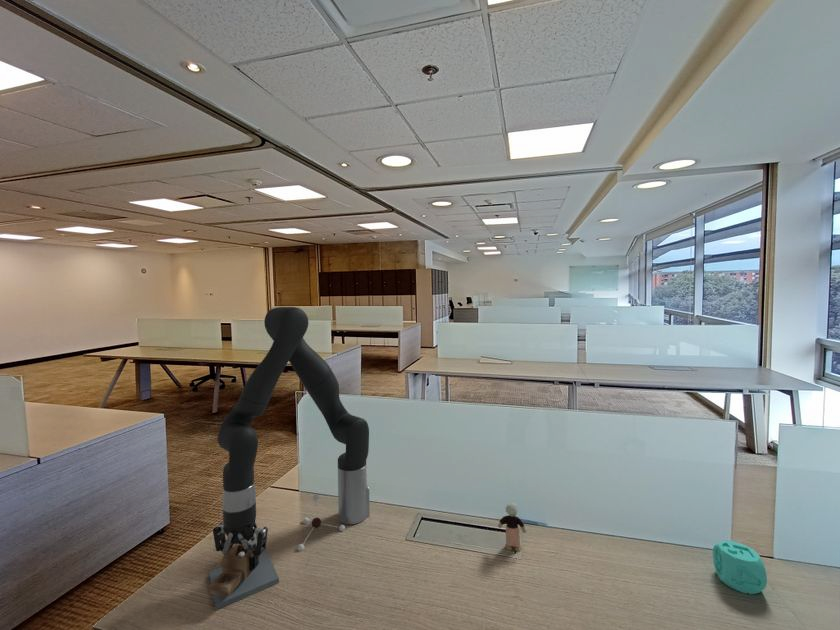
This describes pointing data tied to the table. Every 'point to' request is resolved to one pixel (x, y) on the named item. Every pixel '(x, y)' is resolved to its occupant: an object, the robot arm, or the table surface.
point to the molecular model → (315, 523)
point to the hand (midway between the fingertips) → (241, 567)
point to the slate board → (247, 581)
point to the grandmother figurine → (512, 527)
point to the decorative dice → (739, 567)
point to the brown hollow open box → (231, 571)
